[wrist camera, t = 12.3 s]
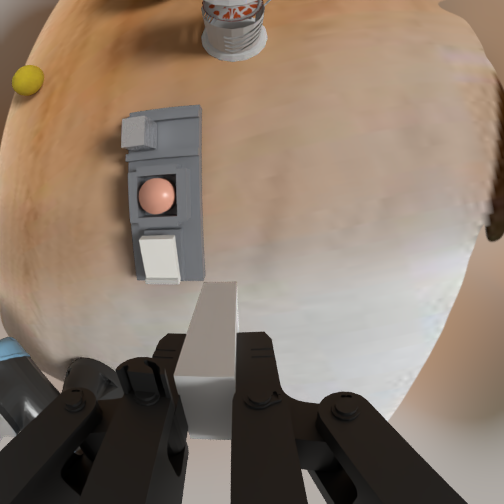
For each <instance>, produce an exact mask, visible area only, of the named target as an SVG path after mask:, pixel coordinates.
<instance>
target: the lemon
mask: <svg viewBox="0 0 504 504" xmlns="http://www.w3.org/2000/svg"><path fill="white" fill-rule="evenodd" d="M43 81H44V74H43V72H42V70H41V69H40V68H39V67H37V66H33V65H26V66H23V67H21V68H20V69H19V70H18V71H17V72H16V73H15V75H14V77H13V79H12V87H13V89H14V91H16V92H17V93H18V94H20V95H24V96H29V95H32V94H34V93H36V92H37V91H38V90H39V89H40V88H41V86H42V84H43Z"/></svg>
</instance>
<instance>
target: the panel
mask: <svg viewBox="0 0 504 504" xmlns="http://www.w3.org/2000/svg"><path fill="white" fill-rule="evenodd" d="M138 116H147V117H148V118H150V119H151V120H153V121H154V122H156V123H157V149H153V150H144V151H132V150H129V154H126V162H129V173H128V193H129V212H130V223H131V229H132V240H133V250H134V259H135V267H136V275H137V280H145V279H146V274H145V269H144V264H143V259H142V254H141V248H140V243H139V239H140V238H141V237H142V236H155V235H175V240H176V248H177V256H178V263H179V270H180V277H181V280H180V281H204V278H205V260H204V240H203V213H202V154H201V145H202V108H201V106H200V105H190V106H179V107H170V108H161V109H153V110H146V111H140V112H134V113H130V117H128V118H132V117H138ZM153 178H165V179H168V180H170V181H172V182H173V183H174V184H175V185H176V195H177V202H176V204H175V205H174V206H173V207H172V208H171V209H170V210H168V211H165V212H163V213H160V214H150V213H148V212H146V211H145V210H144V209H143V208H142V206H141V205H140V202H139V191H140V189H141V187H142V185H143V184H144V183H145V182H146V181H148V180H150V179H153Z"/></svg>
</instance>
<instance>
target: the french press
mask: <svg viewBox="0 0 504 504" xmlns="http://www.w3.org/2000/svg"><path fill="white" fill-rule="evenodd" d="M270 1H271V0H268V1H267V2H266V3H265V4H263V0H203V2H202V4H203V6H202V8H201V9H202V15H203V19H204V24H205V29H204V31H203V34H202V37H201V38H202V45H203V47H204V48H205V50H206V51H207V52H208V54H210V55H211V56H213V57H215V58H217V59H219V60H224V61H231V62H235V61H242V60H247V59H249V58H251V57H253V56H255V55H257V54H258V53H259V52H260V51H261V50H262V49H263V48H264V47H265V44H266V41H267V38H268V37H267V33H266V29H265V27H264V26H263V25H262V24H263V17H264V9H265V7H264V6H265V5H266V4H268V3H269V2H270ZM205 12H206V15H205V18H204V14H205ZM207 14H208V17H207V19H206V16H207ZM255 14H256V18H253V16H254V15H255ZM209 17H210V19H209V20H208V18H209ZM211 18H213V20H212V21H211V22H210V20H211ZM207 21H208V22H207ZM209 22H210V23H209Z"/></svg>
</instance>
